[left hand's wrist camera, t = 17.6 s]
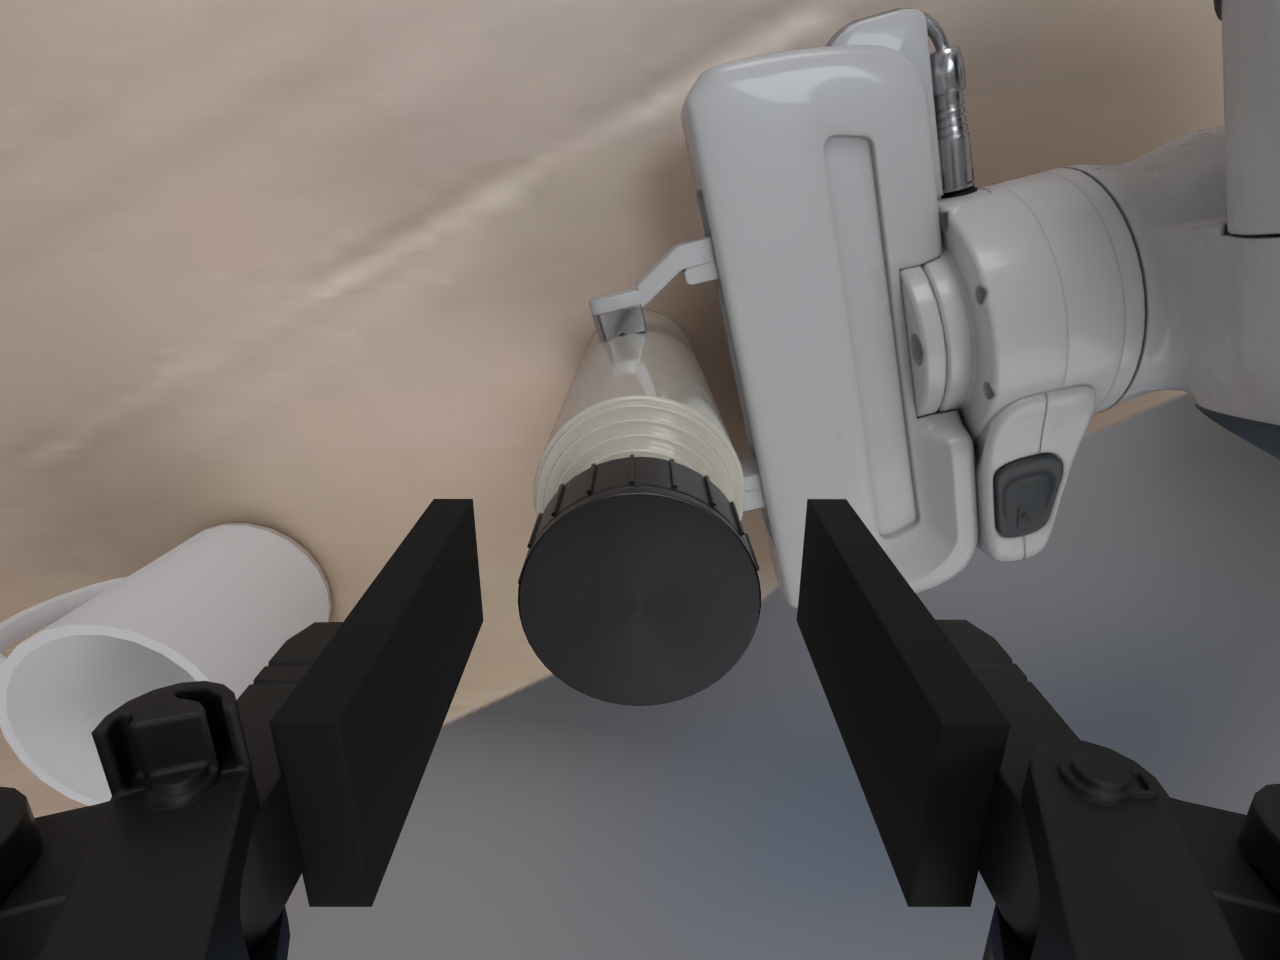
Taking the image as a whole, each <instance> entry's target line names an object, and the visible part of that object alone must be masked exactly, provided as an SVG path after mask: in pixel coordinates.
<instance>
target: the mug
mask: <svg viewBox="0 0 1280 960" xmlns="http://www.w3.org/2000/svg"><path fill="white" fill-rule="evenodd" d="M331 607H332V602H331V596H330V589H329V584H328V582H327V580H326V578H325V575H324V573H323V571H322V569H321V567H320V566H319V564H318V563H317V562H316V561H315V559H314V558H313V557H312V556H311V554H310V553H309V552H308V551H307V550H306V549H305V548H303V547H302V546H301V545H300V544H298V543H297V542H296V541H295V540H293V539H292V538H290V537H288V536H286V535H284V534H282V533H280V532H278V531H276V530H274V529H272V528H268V527H263V526H259V525H255V524H251V523H225V524H221V525H217V526H213V527H209V528H206V529H205V530H203V531H201V532H200V533H198V534H196V535H194V536H193V537H191V538H190V539H188V540H187V541H185V542H183V543H182V544H180V545H178V546H177V547H175V548H174V549H172V550H170V551H169V552H167V553H165V554H164V555H162V556H161V557H159V558H157V559H156V560H154V561H153V562H151V563H149V564H148V565H146V566H144V567H143V568H141V569H140V570H138V571H136V572H135V573H133V574H131V575H130V576H128V577H123V578H116V579H112V580H108V581H104V582H100V583H96V584H92V585H89V586H86V587H83V588H80V589H77V590H74V591H71V592H68V593H65V594H62V595H60V596H57V597H54V598H52V599H49V600H47V601H45V602H42V603H40V604H38V605H35V606H33V607H31V608H28V609H26V610H24V611H21V612H19V613H17V614H15V615H13V616H12V617H10V618H8V619H7V620H5V621H3V622H1V623H0V727H1V730H2V732H3V735H4V738H5V739H6V740H7V742H8V743H9V745H10V746H11V748H12V749H13V751H14V752H15V753H16V755H17V756H18V758H19V759H20V761H21V762H22V763H23V764H24V765H26V766H27V767H28V768H29V769H30V770H31V771H32V772H33V773H34V774H35V775H36V776H37V777H38V778H40V779H41V780H42V781H43V782H44V783H46V784H47V785H49V786H51V787H52V788H54V789H55V790H57V791H59V792H60V793H62V794H63V795H65V796H67V797H68V798H70V799H72V800H75V801H77V802H80V803H82V804H85V805H87V806H92V805H96V804H100V803H104V802H107V801H110V799H111V797H112V795H111V792H110V789H109V786H108V783H107V780H106V777H105V773H104V770H103V767H102V764H101V761H100V758H99V755H98V752H97V749H96V746H95V743H94V740H93V737H92V734H91V733H92V731H93V730H94V729H95V728H96V727H97V726H98V725H99V723H100V722H101V721H102V720H103V719H104V718H105V716H107V715H108V714H110V713H111V712H113V711H114V710H116V709H117V708H119V707H120V706H122V705H123V704H125V703H126V702H127V701H130V700H132V699H134V698H136V697H139V696H141V695H143V694H145V693H148V692H150V691H152V690H155V689H159V688H162V687H166V686H170V685H174V684H178V683H183V682H196V681H209V682H214V683H220V684H224V685H225V686H227V687H228V688H229V689H230V690H232V691H233V692H234V693H235V697H236V700H237V699H238V698H239V697H240V695H241V694H242V693H243V692H244V691H245V689H246V688H247V687H248V686H249V685H250V684H253V682H254V679H255V677H256V676H257V675H258V674H259V673H260V671H261V670H262V669H263V668H264V667H265V666H268V664H269V661H270V660H271V658H272V657H273V656H274V655H275V654H276V652H277V651H278V650H279V649H280V648H281V646H282V645H283V644H284V643H285V642H286V640H288V639H290V638H291V637H293V636H294V635H296V634H297V633H299V632H300V631H302V630H304V629H305V628H307V627H308V626H310V625H311V624H313V623H314V622H329V620H330V614H331ZM53 622H54V623H53ZM51 623H52V624H51ZM49 624H50V625H49ZM47 625H49V626H47ZM45 626H47V627H46V628H44V629H42V630H41V631H39V632H37V633H36V634H34V635H33V636H31V637H29V638H28V639H26V640H24V641H23V642H22V643H20V644H19V645H18V646H17V647H16V648H15V649H14V650H13V652H12V653H11V654H10V655H9V656H8V657H5V656H4V655H3V654H2V653H3V652H4V651H5V649H6V648H7V647H9V646H10V645H12V644H13V643H15V642H17V641H18V640H20V639H21V638H23V637H24V636H26V635H27V634H30V633H32V632H34V631H36V630H38V629H40V628H42V627H45Z"/></svg>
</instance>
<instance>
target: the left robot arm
mask: <svg viewBox="0 0 1280 960" xmlns="http://www.w3.org/2000/svg"><path fill="white" fill-rule="evenodd" d="M482 623H483V612H482V600H481V589H480V577H479V566H478V554H477V543H476V532H475V520H474V509H473V499H434V500H433V501H432V502H431V504H430V505H429V506H428V508H427V509H426V510H425V512H424V513H423V515H422V516H421V517H420V519H419V520H418V521H417V523H416V524H415V525H414V527H413V528H412V529H411V531H410V532H409V534H408V535H407V536H406V538H405V539H404V540H403V542H402V543H401V544H400V546H399V547H398V549H397V550H396V551H395V553H394V554H393V555H392V557H391V558H390V559H389V561H388V562H387V563H386V565H385V566H384V568H383V569H382V570H381V572H380V573H379V574H378V576H377V577H376V578H375V580H374V581H373V583H372V584H371V585H370V587H369V588H368V589H367V591H366V592H365V593H364V595H363V596H362V597H361V599H360V600H359V602H358V603H357V604H356V606H355V607H354V608H353V610H352V611H351V612H350V614H349V615H348V617H347V618H346V619H345V621H344V622H314V623H313V624H311V625H310V626H308V627H307V628H305V629H304V630H302V631H300V632H299V633H297V634H296V635H294V636H293V637H291V638H290V639H288V640H286V642H285V643H284V644H283V645H282V646H281V648H280V649H279V650H278V651H277V652H276V654H275V655H274V656H273V657H272V658H271V660H270V661H269V664H268V666H265V667H264V668H263V669H262V670H261V671H260V673H259V674H258V675H257V676H256V677H255V679H254V682H253V684H250V685H249V686H248V687H247V688H246V689H245V691H244V692H243V693H242V694H241V695H240V697H239V698H238V699H237V700H236V697H235V693H234V692H233V691H232V690H230V689H229V688H228V687H227V686H225V685H224V684H220V683H214V682H209V681H196V682H183V683H178V684H174V685H170V686H166V687H162V688H159V689H155V690H152V691H150V692H148V693H145V694H143V695H141V696H139V697H136V698H134V699H132V700H130V701H127V702H126V703H125V704H123V705H122V706H120V707H119V708H117V709H116V710H114V711H113V712H111V713H110V714H108V715H107V716H105V718H104V719H103V720H102V721H101V722H100V723H99V725H98V726H97V727H96V728H95V729H94V730H93V731H92V733H91V734H92V737H93V740H94V743H95V746H96V749H97V752H98V755H99V758H100V761H101V764H102V767H103V770H104V773H105V777H106V780H107V783H108V786H109V789H110V792H111V795H112V797H111V799H110V801H107V802H104V803H100V804H96V805H92V806H87V807H83V808H78V809H74V810H69V811H65V812H60V813H56V814H51V815H47V816H42V817H38V818H34V816H33V814H32V811H31V808H30V806H29V803H28V800H27V798H26V796H24V795H23V794H22V793H20V792H19V791H18V790H16V789H15V788H7V787H0V960H287V956H288V948H289V940H290V931H289V924H288V917H287V913H286V909H285V904H286V902H287V901H288V899H289V897H290V895H291V893H292V891H293V889H294V887H295V885H296V883H297V881H298V879H299V877H300V875H301V873H302V874H303V879H304V883H305V888H306V893H307V897H308V902H309V906H310V907H371V906H372V905H373V902H374V899H375V897H376V894H377V892H378V889H379V887H380V884H381V881H382V879H383V876H384V874H385V871H386V869H387V866H388V864H389V861H390V858H391V856H392V853H393V851H394V848H395V846H396V843H397V840H398V838H399V835H400V833H401V830H402V827H403V825H404V822H405V820H406V817H407V815H408V812H409V810H410V807H411V805H412V802H413V799H414V797H415V794H416V792H417V789H418V787H419V784H420V782H421V779H422V776H423V774H424V771H425V769H426V766H427V764H428V761H429V758H430V756H431V753H432V751H433V748H434V746H435V743H436V740H437V738H438V735H439V733H440V730H441V728H442V725H443V723H444V720H445V717H446V715H447V712H448V710H449V707H450V705H451V702H452V699H453V697H454V694H455V692H456V689H457V687H458V684H459V682H460V679H461V676H462V674H463V671H464V669H465V666H466V664H467V661H468V658H469V656H470V653H471V651H472V648H473V646H474V643H475V640H476V638H477V635H478V633H479V630H480V628H481V625H482ZM797 623H798V625H799V628H800V630H801V633H802V635H803V638H804V640H805V643H806V646H807V648H808V651H809V653H810V656H811V658H812V661H813V664H814V666H815V669H816V671H817V674H818V676H819V679H820V682H821V684H822V687H823V689H824V692H825V694H826V697H827V699H828V702H829V705H830V707H831V710H832V712H833V715H834V717H835V720H836V723H837V725H838V728H839V730H840V733H841V735H842V738H843V740H844V743H845V746H846V748H847V751H848V753H849V756H850V758H851V761H852V764H853V766H854V769H855V771H856V774H857V776H858V779H859V782H860V784H861V787H862V789H863V792H864V794H865V797H866V799H867V802H868V805H869V807H870V810H871V812H872V815H873V817H874V820H875V823H876V825H877V827H878V830H879V833H880V835H881V838H882V841H883V843H884V846H885V848H886V851H887V853H888V856H889V858H890V861H891V864H892V866H893V869H894V871H895V874H896V876H897V879H898V882H899V884H900V887H901V889H902V892H903V894H904V897H905V899H906V902H907V905H908V906H909V907H970V906H971V902H972V897H973V893H974V888H975V883H976V879H977V874H978V870H979V872H980V874H981V876H982V877H983V879H984V881H985V883H986V885H987V887H988V889H989V891H990V893H991V895H992V897H993V899H994V901H995V902H996V905H995V909H994V913H993V917H992V922H991V926H990V930H989V934H988V939H987V943H986V947H985V951H984V955H983V960H1280V784H1272V785H1266V786H1265V787H1263V788H1262V789H1261V790H1259V791H1258V792H1257V793H1255V795H1254V798H1253V800H1252V803H1251V806H1250V808H1249V811H1248V814H1247V815H1243V814H1239V813H1234V812H1230V811H1225V810H1221V809H1216V808H1212V807H1207V806H1203V805H1198V804H1194V803H1189V802H1185V801H1181V800H1177V799H1174V798H1170V797H1169V796H1168V794H1167V793H1166V791H1165V790H1164V789H1163V787H1162V786H1161V785H1160V783H1159V782H1158V781H1157V779H1156V778H1155V777H1154V776H1153V775H1151V774H1150V773H1149V772H1148V771H1146V770H1145V769H1144V768H1142V767H1141V766H1140V765H1139V764H1137V763H1136V762H1135V761H1133V760H1131V759H1129V758H1127V757H1125V756H1123V755H1121V754H1119V753H1117V752H1115V751H1113V750H1111V749H1109V748H1106V747H1103V746H1099V745H1096V744H1093V743H1089V742H1086V741H1080V739H1079V738H1078V737H1077V736H1076V735H1075V733H1074V732H1073V731H1072V730H1071V729H1070V728H1069V726H1068V725H1067V724H1066V723H1065V722H1064V720H1063V719H1062V718H1061V717H1060V716H1059V715H1058V713H1057V712H1056V711H1055V710H1054V709H1053V707H1052V706H1051V705H1050V704H1049V703H1048V702H1047V700H1046V699H1045V698H1044V697H1043V696H1042V694H1041V693H1040V692H1039V691H1038V690H1037V688H1036V687H1035V686H1034V685H1033V684H1032V683H1031V682H1028V681H1027V677H1026V675H1025V674H1024V673H1023V672H1022V671H1021V670H1020V668H1019V667H1018V666H1017V665H1016V664H1013V663H1012V659H1011V658H1010V656H1009V655H1008V654H1007V653H1006V652H1005V651H1004V649H1003V648H1002V647H1001V646H1000V645H999V643H998V642H997V641H996V640H995V639H994V638H993V637H991V636H990V635H988V634H987V633H985V632H984V631H982V630H981V629H979V628H977V627H976V626H974V625H973V624H971V623H970V622H968V621H966V620H935V619H934V618H933V617H932V615H931V614H930V613H929V611H928V610H927V608H926V607H925V606H924V604H923V603H922V602H921V600H920V599H919V597H918V596H917V595H916V593H915V592H914V591H913V589H912V588H911V587H910V585H909V584H908V583H907V581H906V580H905V578H904V577H903V576H902V574H901V573H900V572H899V570H898V569H897V568H896V566H895V565H894V563H893V562H892V561H891V559H890V558H889V557H888V555H887V554H886V553H885V551H884V550H883V549H882V547H881V546H880V544H879V543H878V542H877V540H876V539H875V538H874V536H873V535H872V534H871V532H870V531H869V529H868V528H867V527H866V525H865V524H864V523H863V521H862V520H861V519H860V517H859V516H858V515H857V513H856V512H855V510H854V509H853V508H852V506H851V505H850V504H849V502H848V501H847V500H846V499H807V509H806V520H805V532H804V543H803V555H802V566H801V577H800V589H799V600H798V612H797Z"/></svg>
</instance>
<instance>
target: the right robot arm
mask: <svg viewBox="0 0 1280 960" xmlns="http://www.w3.org/2000/svg"><path fill="white" fill-rule="evenodd" d="M1214 8H1215V12H1216V14H1217V16H1218V19H1220V20H1221V21H1222V42H1223V80H1224V118H1225V125H1221V126H1217V127H1213V128H1209V129H1206V130H1202V131H1198V132H1194V133H1190V134H1187V135H1184V136H1181V137H1178V138H1175V139H1173V140H1171V141H1168V142H1166V143H1164V144H1162V145H1160V146H1158V147H1156V148H1155V149H1153V150H1151V151H1150V152H1148V153H1146V154H1145V155H1143V156H1141V157H1139V158H1136V159H1134V160H1131V161H1129V162H1125V163H1121V164H1115V165H1095V164H1078V165H1070V166H1063V167H1059V168H1055V169H1052V170H1048V171H1044V172H1040V173H1036V174H1033V175H1029V176H1025V177H1021V178H1017V179H1013V180H1010V181H1006V182H1002V183H998V184H994V185H990V186H985V187H981V188H975V186H974V174H973V165H972V153H971V143H970V136H969V132H968V131H967V130H968V125H967V123H966V115H964V113H965V107H964V106H963V104H964V95H963V89H965V68H964V62H963V57H962V54H961V51H960V48H959V46H952V47H949V43H948V39H947V37H946V35H945V33H944V31H943V29H942V28H941V26H940V25H939V23H937V22H936V21H935V20H934V19H933V18H932V17H931V16H929V15H928V14H926V13H924V12H922V11H920V10H917V9H911V8H898V9H894V10H890V11H887V12H883V13H879V14H876V15H872V16H869V17H865V18H862V19H858V20H855V21H853V22H851V23H849V24H847V25H846V26H844V27H843V28H841V29H840V30H839V31H838V32H837V33H836V34H835V35H834V36H833V37H832V38H831V39H830V41H829V42H828V43H827V45H826V46H825V47H816V48H807V49H798V50H791V51H784V52H777V53H771V54H765V55H760V56H754V57H750V58H745V59H740V60H736V61H731V62H727V63H724V64H720V65H716V66H713V67H711V68H709V69H708V70H706V71H705V72H703V73H702V74H701V75H700V76H699V77H698V79H697V80H696V82H695V83H694V84H693V86H692V88H691V89H690V91H689V93H688V95H687V96H686V98H685V101H684V103H683V106H682V110H681V120H682V125H683V130H684V135H685V140H686V145H687V150H688V155H689V160H690V164H691V169H692V174H693V179H694V184H695V189H696V194H697V198H698V203H699V208H700V213H701V218H702V223H703V227H704V232H705V236H704V237H700V238H696V239H692V240H689V241H685V242H681V243H678V244H674V245H673V246H672V247H671V248H670V249H669V250H668V251H667V252H666V253H665V254H664V255H663V256H662V257H661V258H660V259H659V260H658V261H657V262H656V263H655V264H654V265H653V266H652V267H651V268H650V269H649V270H648V271H647V272H646V273H645V274H644V275H643V276H642V277H641V278H640V279H639V280H638V281H637V286H634V287H630V288H626V289H623V290H619V291H615V292H611V293H607V294H603V295H600V296H597V297H594V298H592V299H590V301H589V305H590V309H591V313H592V316H593V320H594V323H595V327H596V330H597V334H598V337H599V341H608V340H611V339H614V338H616V337H618V336H619V335H620V334H621V333H624V334H627V335H629V334H636V333H640V332H643V331H646V322H645V318H644V313H643V309H642V308H643V307H644V306H645V305H646V304H647V303H648V302H650V301H651V300H652V299H653V298H654V297H655V296H656V295H657V294H658V293H659V292H660V291H661V290H662V289H663V288H664V287H665V286H666V285H667V284H668V283H669V282H670V281H671V280H672V279H673V278H674V277H675V276H676V275H677V274H678V273H679V272H680V271H682V276H683V279H684V280H685V282H686V283H687V284H689V285H694V284H698V283H703V282H707V281H711V280H714V281H715V286H716V290H717V295H718V300H719V305H720V310H721V315H722V320H723V324H724V329H725V334H726V339H727V344H728V349H729V353H730V358H731V363H732V368H733V373H734V378H735V383H736V387H737V392H738V397H739V402H740V407H741V412H742V416H743V421H744V426H745V431H746V436H747V441H748V446H749V450H750V455H751V457H749V458H745V459H741V460H739V461H740V464H741V466H742V471H743V475H744V480H745V491H746V493H745V507H744V512H745V511H749V510H754V509H758V508H761V509H762V513H763V518H764V523H765V528H766V533H767V538H768V542H769V547H770V552H771V557H772V562H773V566H774V571H775V574H776V577H777V580H778V583H779V586H780V588H781V591H782V593H783V596H784V598H785V600H786V602H787V603H788V605H790V606H791V607H793V608H795V609H798V600H799V589H800V577H801V566H802V555H803V543H804V532H805V520H806V509H807V499H846V500H847V501H848V502H849V504H850V505H851V506H852V508H853V509H854V510H855V512H856V513H857V515H858V516H859V517H860V519H861V520H862V521H863V523H864V524H865V525H866V527H867V528H868V529H869V531H870V532H871V534H872V535H873V536H874V538H875V539H876V540H877V542H878V543H879V544H880V546H881V547H882V549H883V550H884V551H885V553H886V554H887V555H888V557H889V558H890V559H891V561H892V562H893V563H894V565H895V566H896V568H897V569H898V570H899V572H900V573H901V574H902V576H903V577H904V578H905V580H906V581H907V583H908V584H909V585H910V587H911V588H912V589H913V591H914V592H915V593H916V594H917V593H920V592H923V591H926V590H929V589H931V588H934V587H936V586H939V585H941V584H943V583H945V582H947V581H948V580H950V579H952V578H953V577H955V576H956V575H957V574H959V573H960V572H961V571H962V570H963V569H964V568H965V567H966V566H967V565H968V563H969V562H970V560H971V559H972V557H973V555H974V553H975V551H976V547H978V548H979V549H981V550H982V551H983V552H985V553H986V554H987V555H989V556H990V557H992V558H993V559H995V560H997V561H1001V562H1010V561H1017V560H1022V559H1027V558H1030V557H1032V556H1034V555H1037V554H1038V553H1039V552H1041V551H1042V550H1043V548H1044V547H1045V546H1046V544H1047V542H1048V540H1049V537H1050V534H1051V531H1052V528H1053V525H1054V521H1055V518H1056V514H1057V511H1058V507H1059V504H1060V501H1061V497H1062V494H1063V491H1064V487H1065V485H1066V481H1067V478H1068V475H1069V472H1070V470H1071V467H1072V464H1073V461H1074V458H1075V456H1076V453H1077V451H1078V448H1079V445H1080V443H1081V441H1082V438H1083V436H1084V434H1085V431H1086V429H1087V427H1088V425H1089V422H1090V420H1091V418H1092V415H1093V414H1096V413H1100V412H1103V411H1106V410H1108V409H1110V408H1112V407H1115V406H1117V405H1119V404H1121V403H1123V402H1125V401H1127V400H1129V399H1132V398H1134V397H1136V396H1139V395H1142V394H1145V393H1149V392H1153V391H1161V390H1182V391H1186V392H1188V393H1190V394H1192V395H1193V396H1194V397H1195V398H1196V400H1197V403H1196V404H1195V406H1196V407H1197V408H1198V409H1199V410H1200V411H1201V412H1202V413H1204V414H1205V415H1206V416H1208V417H1209V418H1210V419H1212V420H1213V421H1215V422H1216V423H1218V424H1219V425H1221V426H1222V427H1224V428H1226V429H1227V430H1229V431H1231V432H1232V433H1234V434H1236V435H1238V436H1239V437H1241V438H1243V439H1245V440H1246V441H1248V442H1250V443H1252V444H1253V445H1255V446H1257V447H1259V448H1261V449H1262V450H1264V451H1266V452H1268V453H1269V454H1271V455H1273V456H1274V457H1276V458H1278V459H1279V460H1280V0H1214ZM928 36H929V37H930V39H931V40H932V42H933V44H934V47H935V49H936V52H933V53H931V54H930V52H929V42H928ZM943 194H944V195H943ZM942 195H943V196H942ZM938 196H941V199H937V197H938Z"/></svg>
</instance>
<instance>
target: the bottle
mask: <svg viewBox="0 0 1280 960" xmlns="http://www.w3.org/2000/svg"><path fill="white" fill-rule="evenodd" d="M643 313H644V318H645V322H646V331H643V332H640V333H636V334H629V335H627V334H624V333H621V334H620V335H619V336H618V337H616V338H614V339H611V340H608V341H599V337H598V334H597V330H596V332H595V333H594V334H593V336H592V338H591V339H590V341H589V343H588V346H587V348H586V350H585V353H584V355H583V358H582V360H581V362H580V365H579V367H578V370H577V372H576V375H575V377H574V379H573V382H572V384H571V387H570V389H569V391H568V394H567V396H566V399H565V401H564V404H563V406H562V408H561V411H560V413H559V416H558V418H557V420H556V423H555V425H554V428H553V430H552V433H551V435H550V437H549V440H548V442H547V445H546V447H545V449H544V452H543V454H542V457H541V460H540V462H539V465H538V468H537V472H536V477H535V484H534V504H535V510H536V515H537V517H538V514H539V513H543V511H544V510H545V508H546V506H547V505H548V503H549V502H550V500H551V499H552V497H553V496H554V495H555V494H556V493H557V492H558V489H559V486H560V485H561V484H562V483H563V484H564V485H565V484H566V483H567V482H568V481H570V480H571V479H572V478H573V477H575V476H576V475H578V474H580V473H581V472H583V471H585V470H586V469H589V468H591V464H594V463H595V464H596V465H598V464H600V463H604V462H607V461H610V460H614V459H620V458H626V457H630V455H634V457H652V458H659V459H664V460H670V458H671V459H674V462H676V463H678V464H681V465H684V466H686V467H688V468H690V469H692V470H694V471H696V472H698V473H700V474H701V475H703V476H705V475H707V476H709V478H710V481H711V482H712V483H713V484H714V485H715V486H717V487H718V488H719V489H720V490H721V491H722V493H723V494H724V495H725V496H726V497H727V498H728V500H729V501H730V502H732V501H733V502H734V503H735V506H736V509H737V512H738V515H739V518H740V521H741V520H742V517H743V512H744V507H745V493H746V491H745V480H744V475H743V471H742V466H741V464H740V461H739V459H738V456H737V453H736V451H735V449H734V446H733V444H732V441H731V439H730V436H729V434H728V432H727V429H726V427H725V424H724V422H723V419H722V417H721V414H720V412H719V410H718V407H717V405H716V402H715V400H714V397H713V395H712V393H711V390H710V388H709V385H708V383H707V380H706V378H705V375H704V373H703V371H702V368H701V366H700V363H699V361H698V358H697V356H696V354H695V351H694V349H693V346H692V344H691V342H690V340H689V338H688V336H687V335H686V333H685V332H684V331H683V329H682V328H681V327H680V326H679V325H678V324H676V323H675V322H674V321H673V320H671V319H669V318H668V317H666V316H664V315H662V314H659V313H656V312H652V311H646V310H643Z"/></svg>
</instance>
